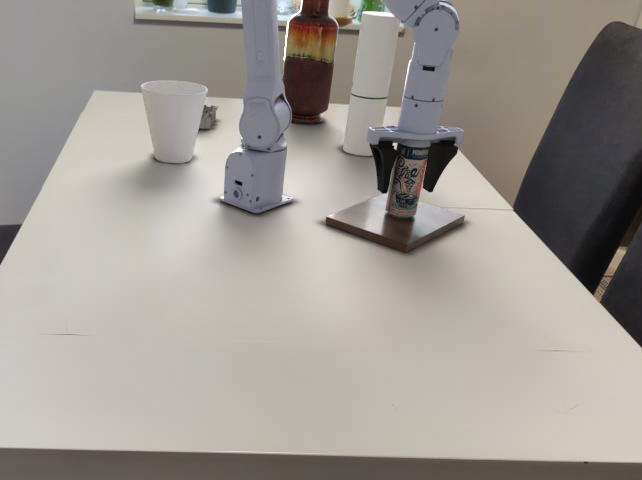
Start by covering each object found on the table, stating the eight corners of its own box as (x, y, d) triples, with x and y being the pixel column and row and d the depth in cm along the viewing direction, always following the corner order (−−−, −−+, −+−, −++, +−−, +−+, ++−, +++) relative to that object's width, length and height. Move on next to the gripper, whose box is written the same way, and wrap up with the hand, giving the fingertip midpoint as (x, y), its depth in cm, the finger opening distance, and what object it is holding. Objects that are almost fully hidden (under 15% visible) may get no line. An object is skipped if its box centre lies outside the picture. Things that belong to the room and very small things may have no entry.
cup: (162, 170, 124) (162, 96, 117) (129, 152, 131) (128, 82, 125) (218, 162, 130) (221, 91, 123) (183, 145, 138) (184, 78, 131)
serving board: (405, 252, 100) (407, 244, 99) (325, 223, 107) (326, 216, 106) (463, 222, 111) (465, 215, 111) (387, 198, 119) (388, 191, 118)
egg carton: (186, 115, 158) (187, 96, 156) (219, 119, 157) (220, 100, 155) (174, 127, 149) (175, 106, 147) (209, 130, 148) (210, 110, 146)
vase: (272, 113, 165) (282, -13, 151) (315, 112, 168) (330, -11, 154) (288, 125, 156) (301, -7, 142) (334, 124, 160) (351, -5, 146)
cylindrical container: (377, 147, 146) (399, 13, 132) (379, 157, 140) (403, 17, 126) (342, 144, 146) (361, 10, 133) (343, 153, 140) (363, 14, 127)
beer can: (387, 218, 107) (401, 138, 101) (382, 207, 111) (396, 130, 105) (418, 220, 107) (435, 141, 101) (412, 209, 111) (428, 132, 105)
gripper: (454, 91, 105) (434, 181, 112) (364, 90, 101) (350, 183, 109) (479, 102, 99) (457, 196, 107) (385, 102, 96) (369, 198, 103)
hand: (404, 190), depth 107 cm, fingers open, 7 cm apart
